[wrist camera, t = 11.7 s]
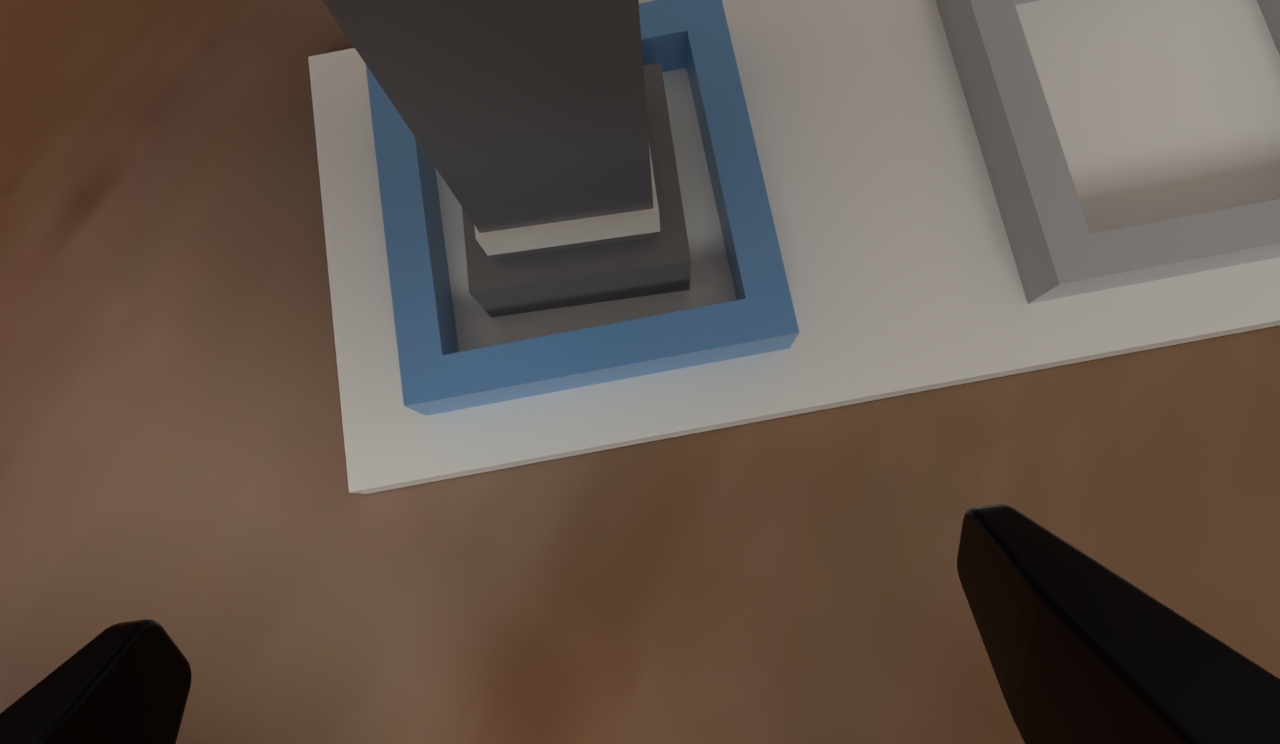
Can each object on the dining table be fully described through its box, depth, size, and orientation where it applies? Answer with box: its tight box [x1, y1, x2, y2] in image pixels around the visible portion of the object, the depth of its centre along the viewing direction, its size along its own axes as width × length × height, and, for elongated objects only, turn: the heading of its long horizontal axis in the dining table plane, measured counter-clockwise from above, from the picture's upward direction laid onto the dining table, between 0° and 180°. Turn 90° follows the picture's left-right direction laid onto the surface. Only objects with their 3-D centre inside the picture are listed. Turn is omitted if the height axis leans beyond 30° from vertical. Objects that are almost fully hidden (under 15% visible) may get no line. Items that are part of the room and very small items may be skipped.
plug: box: [323, 0, 691, 317], centre depth 12 cm, size 5×5×13 cm
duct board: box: [308, 0, 1280, 494], centre depth 18 cm, size 28×12×2 cm, turn 100°
